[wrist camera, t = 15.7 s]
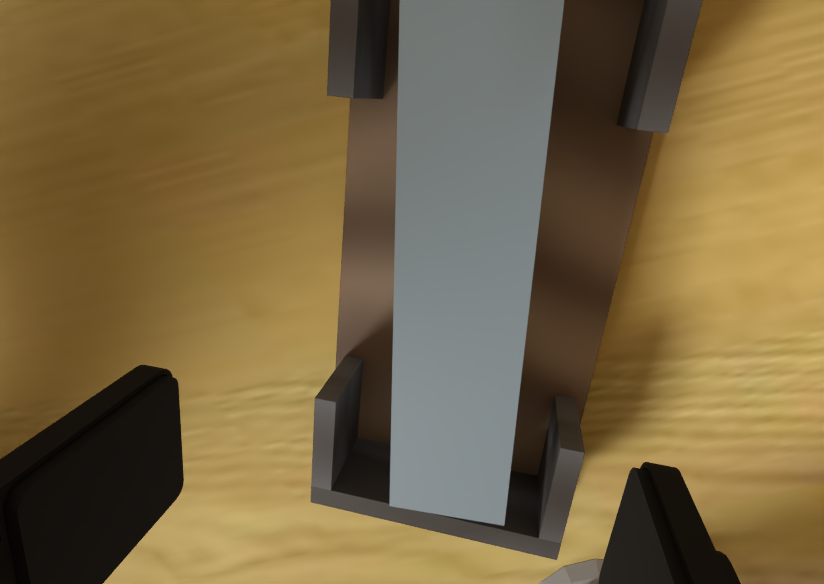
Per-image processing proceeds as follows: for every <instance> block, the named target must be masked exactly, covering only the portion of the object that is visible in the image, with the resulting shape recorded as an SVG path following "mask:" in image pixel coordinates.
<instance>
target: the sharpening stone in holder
mask: <svg viewBox="0 0 824 584" xmlns="http://www.w3.org/2000/svg"><path fill="white" fill-rule="evenodd" d="M702 1H703V0H564V8H563V16H562V25H561V34H560V43H559V51H558V60H557V69H556V78H555V86H554V95H553V104H552V113H551V121H550V130H549V139H548V148H547V156H546V165H545V174H544V183H543V191H542V200H541V209H540V218H539V226H538V235H537V244H536V253H535V261H534V270H533V279H532V288H531V296H530V305H529V314H528V323H527V331H526V340H525V349H524V358H523V367H522V375H521V384H520V393H519V402H518V410H517V419H516V428H515V437H514V445H513V454H512V463H511V472H510V480H509V489H508V498H507V507H506V515H505V524H504V526H502V525H497V524H491V523H485V522H479V521H473V520H468V519H462V518H456V517H450V516H444V515H439V514H433V513H427V512H421V511H415V510H410V509H404V508H398V507H392V506H389V505H390V455H391V405H392V355H393V306H394V256H395V206H396V156H397V106H398V56H399V6H400V0H331V11H330V36H329V61H328V86H327V95H328V96H337V97H346V98H350V116H349V134H348V152H347V171H346V189H345V207H344V225H343V243H342V262H341V280H340V298H339V316H338V334H337V353H336V369H335V371H334V372H333V374H332V375H331V376H330V378H329V379H328V381H327V382H326V383H325V385H324V386H323V388H322V389H321V390H320V392H319V393H318V395H317V396H316V397H315V409H314V434H313V459H312V484H311V502H312V503H317V504H321V505H325V506H329V507H334V508H338V509H342V510H346V511H351V512H355V513H359V514H363V515H368V516H372V517H376V518H380V519H385V520H389V521H393V522H397V523H402V524H406V525H410V526H414V527H419V528H423V529H427V530H431V531H436V532H440V533H444V534H448V535H453V536H457V537H461V538H465V539H470V540H474V541H478V542H482V543H487V544H491V545H495V546H499V547H504V548H508V549H512V550H516V551H521V552H525V553H529V554H533V555H538V556H542V557H546V558H551V559H555V560H557V557H558V554H559V550H560V546H561V542H562V538H563V534H564V531H565V527H566V523H567V519H568V515H569V511H570V507H571V504H572V500H573V496H574V492H575V488H576V484H577V481H578V477H579V473H580V469H581V465H582V461H583V458H584V454H585V452H584V446H583V440H582V434H581V428H580V423H581V419H582V415H583V411H584V407H585V403H586V399H587V395H588V391H589V387H590V383H591V379H592V375H593V371H594V367H595V363H596V359H597V355H598V351H599V347H600V343H601V339H602V335H603V331H604V327H605V323H606V319H607V315H608V311H609V307H610V303H611V299H612V295H613V291H614V287H615V283H616V279H617V275H618V272H619V268H620V264H621V260H622V256H623V252H624V248H625V244H626V240H627V236H628V232H629V228H630V224H631V220H632V216H633V212H634V208H635V204H636V200H637V196H638V192H639V188H640V184H641V180H642V176H643V172H644V168H645V164H646V160H647V156H648V152H649V148H650V144H651V140H652V136H653V132H662V133H668V131H669V127H670V124H671V120H672V116H673V112H674V108H675V104H676V100H677V97H678V93H679V89H680V85H681V81H682V77H683V74H684V70H685V66H686V62H687V58H688V54H689V51H690V47H691V43H692V39H693V35H694V31H695V28H696V24H697V20H698V16H699V12H700V8H701V4H702Z"/></svg>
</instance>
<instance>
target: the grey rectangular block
mask: <svg viewBox="0 0 824 584" xmlns="http://www.w3.org/2000/svg"><path fill="white" fill-rule="evenodd" d="M563 8H564V0H400V6H399V56H398V106H397V156H396V206H395V256H394V306H393V355H392V405H391V455H390V505H389V506H392V507H398V508H404V509H410V510H415V511H421V512H427V513H433V514H439V515H444V516H450V517H456V518H462V519H468V520H473V521H479V522H485V523H491V524H497V525H502V526H504V524H505V515H506V507H507V498H508V489H509V480H510V472H511V463H512V454H513V445H514V437H515V428H516V419H517V410H518V402H519V393H520V384H521V375H522V367H523V358H524V349H525V340H526V331H527V323H528V314H529V305H530V296H531V288H532V279H533V270H534V261H535V253H536V244H537V235H538V226H539V218H540V209H541V200H542V191H543V183H544V174H545V165H546V156H547V148H548V139H549V130H550V121H551V113H552V104H553V95H554V86H555V78H556V69H557V60H558V51H559V43H560V34H561V25H562V16H563Z"/></svg>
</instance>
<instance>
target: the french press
mask: <svg viewBox="0 0 824 584" xmlns="http://www.w3.org/2000/svg"><path fill="white" fill-rule="evenodd" d="M603 561H604V560H603V559H593V560H589V561H584V562H580V563H576V564H571V565H567V566H564V567H562V568H561V569H559V570H558V571H556V572H555V573H553V574H552V575H550V576H549V577H547V578H546V579H544V580H543V581H541V583H540V584H598V581H599V575H600V571H601V567H602V564H603Z"/></svg>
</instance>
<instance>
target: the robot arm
mask: <svg viewBox="0 0 824 584" xmlns="http://www.w3.org/2000/svg"><path fill="white" fill-rule="evenodd" d="M183 481H184V478H183V460H182V442H181V424H180V406H179V388H178V381H177V379H175V378H173V377H172V374H171V372H170V371H169V370H167V369H163V368H158V367H153V366H147V365H140V366H138V367H136V368H134V369H133V370H131V371H130V372H128V373H127V374H125V375H124V376H123V377H121V378H120V379H118V380H117V381H115V382H114V383H112V384H111V385H109V386H108V387H106V388H105V389H103V390H102V391H100V392H99V393H97V394H96V395H95V396H93V397H92V398H90V399H89V400H87V401H86V402H84V403H83V404H81V405H80V406H78V407H77V408H75V409H74V410H72V411H71V412H69V413H68V414H66V415H65V416H64V417H62V418H61V419H59V420H58V421H56V422H55V423H53V424H52V425H50V426H49V427H47V428H46V429H44V430H43V431H41V432H40V433H38V434H37V435H36V436H34V437H33V438H31V439H30V440H28V441H27V442H25V443H24V444H22V445H21V446H19V447H18V448H16V449H15V450H13V451H12V452H10V453H9V454H8V455H6V456H5V457H3V458H2V459H0V584H103V583H104V581H105V580H106V579H107V578H108V577H109V576H110V575H111V573H112V572H113V571H114V570H115V569H116V568H117V567H118V565H119V564H120V563H121V562H122V561H123V560H124V559H125V557H126V556H127V555H128V554H129V553H130V552H131V550H132V549H133V548H134V547H135V546H136V545H137V544H138V542H139V541H140V540H141V539H142V538H143V537H144V536H145V534H146V533H147V532H148V531H149V530H150V529H151V528H152V526H153V525H154V524H155V523H156V522H157V521H158V520H159V518H160V517H161V516H162V515H163V514H164V513H165V511H166V510H167V509H168V508H169V507H170V506H171V505H172V503H173V502H174V501H175V500H176V499H177V497H178V496H179V494H180V492H181V490H182V487H183ZM598 584H741V583H740V581H739V579H738V577H737V575H736V572H735V570H734V568H733V566H732V564H731V562H730V561H729V559H728V558H727V556H726V555H725V554H723V553H722V552H719V551H716V550H715V548H714V546H713V543H712V541H711V539H710V537H709V535H708V532H707V530H706V528H705V526H704V524H703V521H702V519H701V517H700V515H699V513H698V510H697V508H696V506H695V504H694V502H693V499H692V497H691V495H690V493H689V491H688V488H687V486H686V484H685V482H684V479H683V477H682V475H681V473H680V471H679V470H678V469H677V468H675V467H670V466H664V465H659V464H654V463H649V462H645V463H643V464H642V466H641V468H640V469H639V468H632V469H631V470H630V473H629V476H628V479H627V483H626V486H625V489H624V493H623V496H622V500H621V503H620V506H619V510H618V513H617V517H616V520H615V523H614V527H613V530H612V533H611V537H610V540H609V544H608V547H607V550H606V554H605V557H604V561H603V564H602V567H601V571H600V575H599V581H598Z"/></svg>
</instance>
